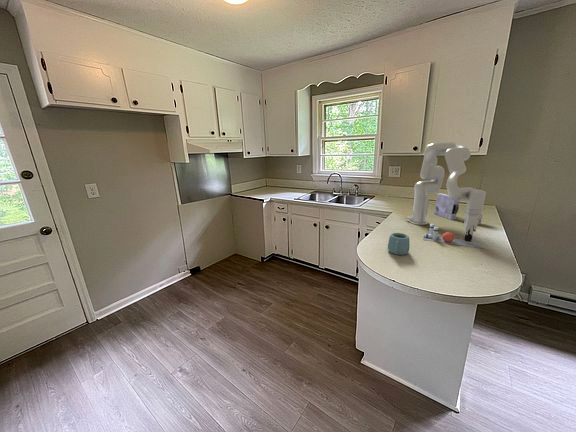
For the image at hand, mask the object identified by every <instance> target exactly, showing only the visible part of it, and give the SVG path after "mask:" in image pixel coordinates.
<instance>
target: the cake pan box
mask: <svg viewBox="0 0 576 432" xmlns="http://www.w3.org/2000/svg"><path fill="white" fill-rule="evenodd" d="M459 207H460V201H454V200H452V199H451V198H450V197H449V194H446V193H439V192H437V196H436V202H435V207H434V211H433V214H434V215H437V216H440V217H441V218H445V219H448V220H450V221H451V220H453V221H454V220H456V218H457V214H458V212H459Z"/></svg>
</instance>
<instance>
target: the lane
mask: <svg viewBox="0 0 576 432" xmlns="http://www.w3.org/2000/svg"><path fill="white" fill-rule="evenodd" d="M422 240H424V241H429V242H435V243H436V242H437V243H443V244H451V245H457V246H463V247H469V248H475V249H477V248H478V249H484V246H483V243H482V242H481V241H474V240H472V241H471V242H467V241H465V240H464V239H459V238H454V240H453V241H451V242H446V241H444V240H443V238H442V236H440V239H437V241H433V240H432V238H425V237H424V236H423V238H422Z"/></svg>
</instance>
